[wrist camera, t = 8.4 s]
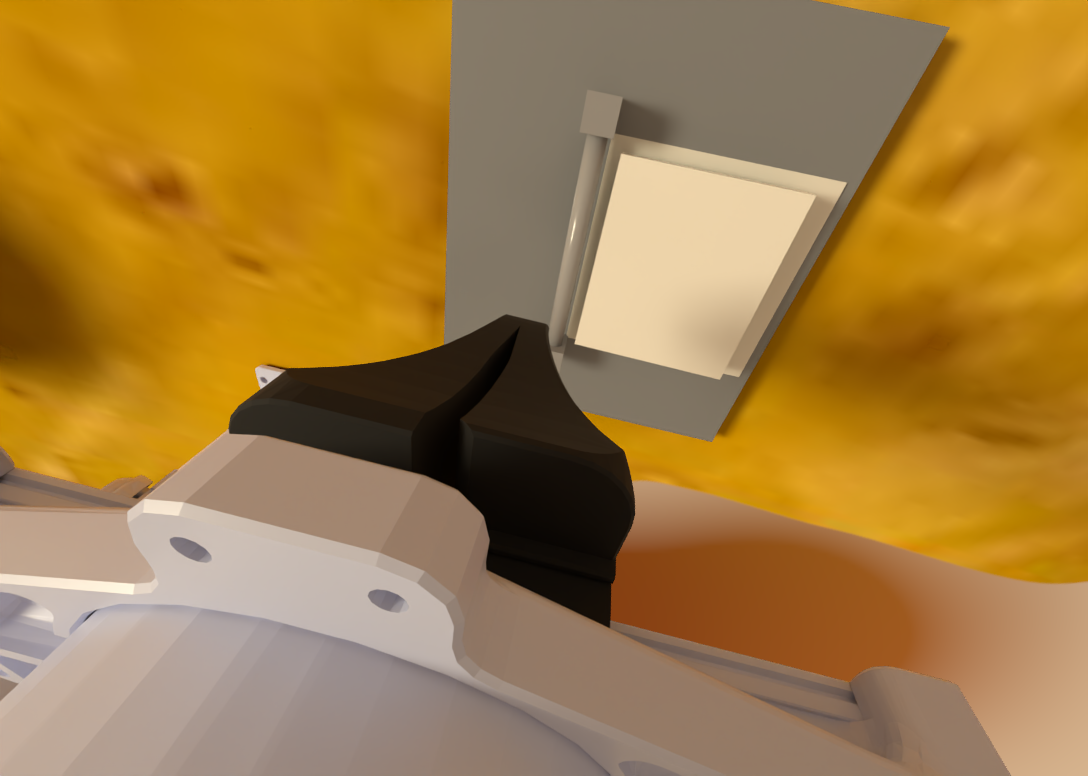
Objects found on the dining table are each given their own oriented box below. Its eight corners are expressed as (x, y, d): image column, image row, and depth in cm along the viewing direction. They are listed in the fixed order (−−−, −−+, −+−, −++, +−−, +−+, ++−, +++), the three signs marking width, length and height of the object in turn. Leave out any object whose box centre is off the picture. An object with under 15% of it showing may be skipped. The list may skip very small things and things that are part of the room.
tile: (574, 343, 19) (576, 336, 20) (719, 379, 19) (717, 370, 19) (621, 153, 14) (622, 151, 15) (816, 195, 14) (808, 192, 15)
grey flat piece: (708, 430, 24) (718, 467, 21) (449, 368, 24) (430, 397, 22) (929, 32, 13) (998, 14, 11) (464, -60, 14) (430, -96, 11)
